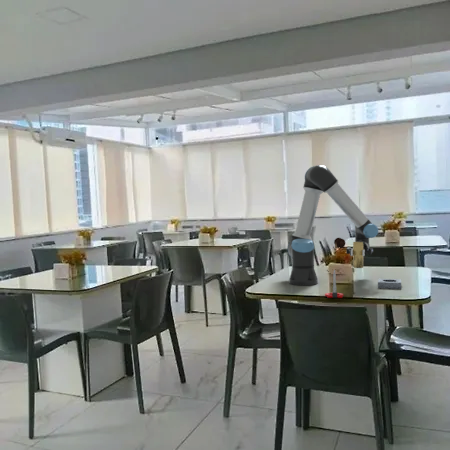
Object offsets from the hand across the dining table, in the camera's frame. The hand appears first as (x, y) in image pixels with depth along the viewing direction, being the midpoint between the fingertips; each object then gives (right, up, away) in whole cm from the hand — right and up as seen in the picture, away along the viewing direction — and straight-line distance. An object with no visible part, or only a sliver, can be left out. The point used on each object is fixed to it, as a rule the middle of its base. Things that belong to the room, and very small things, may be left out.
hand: (357, 253), depth 240 cm
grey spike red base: (-15, -19, -16) cm, 29 cm away
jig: (+17, -17, +2) cm, 24 cm away
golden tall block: (+2, -7, +5) cm, 9 cm away
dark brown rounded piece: (+6, -14, +59) cm, 61 cm away
